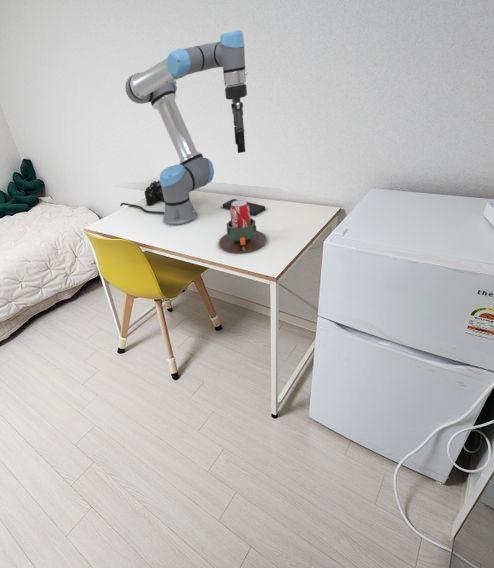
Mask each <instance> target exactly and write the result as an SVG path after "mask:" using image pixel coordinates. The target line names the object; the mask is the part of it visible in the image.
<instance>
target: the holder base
mask: <svg viewBox="0 0 494 568" xmlns="http://www.w3.org/2000/svg"><path fill="white" fill-rule="evenodd" d="M218 242H219V243H218V244H219V248H220V249H221V250H223V251H224V252H227V253H230V254H247V253H248V254H249V253H253V252H255V251H258V250H260V249H261V248H262V247H264V246H265V245H266V243H267V237H266V235H265V234H264V233H263V232H261V231H258V230H256V232H255V235H254V236H253V237H252V238H250V239H247V240H245V245H240V241H238V240H233V239H230V238H229V235H227V233H226V234H224V235H222V237H221V238H220V239H219V241H218Z"/></svg>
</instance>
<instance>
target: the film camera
mask: <svg viewBox="0 0 494 568" xmlns="http://www.w3.org/2000/svg"><path fill="white" fill-rule="evenodd" d="M144 197H145V202H146V205H147V206H153V205H154V204H156V203H157V202H160V201H162V202H164V197H163V192H162V187H161V184H160V179H159V180H157V181H156V180H153V181H151V182H150V184H149V186H147V187H145V190H144Z"/></svg>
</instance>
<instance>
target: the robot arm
mask: <svg viewBox="0 0 494 568" xmlns="http://www.w3.org/2000/svg"><path fill="white" fill-rule="evenodd" d="M219 38H220V39H219V41H216V42H210V43H204V44H200V45H195V46H191V47H186V48H177V49H175V50H171V51H170V52H169V53H168V55H167V57H166V58H165V59H163V60H160V62H158V63H156V64H155V65H153V66H151V67H149V68H148V69H146V70H144V71H142V72H135V73H134V74H132V75H130V76H129V77H128V78H127V80H126V82H125V84H124V85H125V86H124V87H125V93H126V95H127V97H128V99H129V100H131V102H133V103H135V104H138V105H139V104H140V105H141V104H147V103H150V104H151V106H152V108H153V109H154V110H157V111H158V114H159V116H160V118H161V120H162V123H163V124H164V127H165V130H166V131H167V134H168V136H169V137H170V140H171V142H172V144H173V147H174V149H175V151H176V153H177V155H178V158H179V164H174V165H170V166H167V167H166V168H164V169H163V170H161V172H160V173H159V180H160V184H161V187H162V192H163V197H164V201H163V202H164V211H160V210H159V211H158V210H157V211H155V210H147V209H145V208H143V206H141V205H137V204H131V203H127V202H122V203H120V204H119V206H120V207H122V206H123V205H125V206H128V207H133V208H138V209H141V210H142V211H143V212H144V213H148V214H160V215H162V214H163V220H164V223H165V224H167V225H171V226H181V225H185V224H188V223H190V222H192V221H194V220H196V217H197V211H196V208H195V207H194V205H193V203H192V202H191V199H190V193H191V192H193V191H196V190H197V189H200V188H203V187H205V186H207V185H208V184H210V183H212V181H213V180H214V175H215V169H214V165H213V162H212V161H211V160H210V159H209V158H208V157H204V156H203V153H202V152H199V151H198V150H197V147H196V146H195V143H194V141H193V139H192V137H191V134H190V132H189V129H188V128H187V124H186V123H185V121H184V119H183V116H182V113H181V111H180V109H179V107H178V105H177V102H176V99H177V89H178V86H177V81H178V80H179V79H182V78H184V77H186V76H188V75H191V74H195V73H199V72H203V71H208V70H211V69H217V68H222V70H223V72H222V73H223V74H222V75H223V83H224V84H223V85H224V86H225V88H224V91H225V92H224V95H225V99H226V100H229V101H230V100H231V103H230V106H231V113H232V116H233V121H232V122H233V126H234V127H233V129H234V130H233V131H234V138H235V139H234V141H235V145H236V149H237V154H242V153H246V143H245V142H246V141H245V125H244V117H243V116H244V103H243V101H241V98H245V97H246V96H247V95H248V86H247V84H246V82H247V76H248V71H246V59H245V56H246V55H245V39H244V33H243V31H242V30H239V29H238V30H233V31H228V32H224V33H221V34H220V36H219Z"/></svg>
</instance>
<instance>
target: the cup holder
mask: <svg viewBox="0 0 494 568" xmlns="http://www.w3.org/2000/svg"><path fill="white" fill-rule="evenodd" d="M250 224H251V225H250V226H248V227H245V228H232V224H231V219H230V220H228V222H226V234H227V235H229V238H230V239H233V240H238V241H240V245H245V240H247V239H250V238H252V237H253V236H254V235H255V232H256V231H257V225H256V220H255V219H253V218H252V217H250Z"/></svg>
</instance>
